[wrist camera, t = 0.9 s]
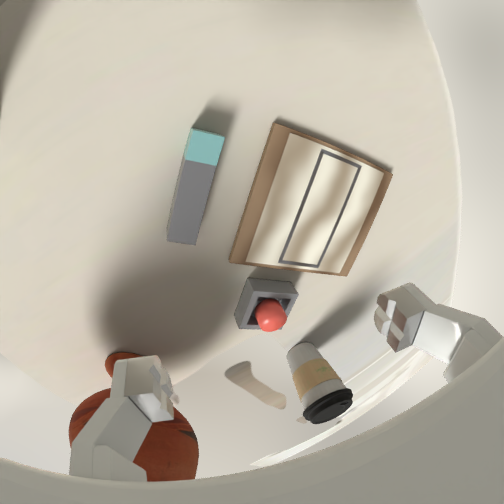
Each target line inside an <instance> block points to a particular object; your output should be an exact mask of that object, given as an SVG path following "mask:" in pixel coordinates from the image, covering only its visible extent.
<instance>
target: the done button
mask: <svg viewBox="0 0 504 504" xmlns="http://www.w3.org/2000/svg"><path fill="white" fill-rule="evenodd" d="M254 314H255V317H256V319H257V321H258V324H259V326H260V328H261V329H262V330H263V331H266V332H271V331H275V330H278V329H279V328H281V327H282V326H283V325H284V324H285V322H286V320H287V315H286V313H285V311H284V310H283V308H282V306H281V304H280V302H279V301H278V300H276V299H266V300H263V301H261V302H260V303H259V304H258V305H257V306H256V307H255V310H254Z"/></svg>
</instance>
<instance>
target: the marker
mask: <svg viewBox="0 0 504 504" xmlns="http://www.w3.org/2000/svg"><path fill="white" fill-rule="evenodd" d="M224 139H225V137H223V136H222V135H220V134H216V133H212V132H208V131H203V130H199V129H195V128H191V129H190V133H189V136H188V140H187V144H186V147H185V151H184V155H183V159H182V163H181V167H180V171H179V175H178V179H177V183H176V187H175V192H174V196H173V201H172V205H171V210H170V215H169V220H168V225H167V241H169V242H176V243H184V244H191V245H196V241H197V237H198V233H199V229H200V225H201V221H202V217H203V213H204V209H205V206H206V202H207V198H208V194H209V191H210V187H211V184H212V180H213V176H214V173H215V169H216V166H217V163H218V159H219V156H220V152H221V149H222V146H223V142H224Z"/></svg>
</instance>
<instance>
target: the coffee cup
mask: <svg viewBox="0 0 504 504" xmlns="http://www.w3.org/2000/svg"><path fill="white" fill-rule="evenodd" d="M287 360H288V363H289V366H290V368H291V372H292V375H293V380H294V383H295V386H296V389H297V392H298V395H299V398H300V400H301V402H302V404H303V407H304V409H305V411H304V412H303V416H304V417H305V419H306V420H308V421H311V422H312V423H313V424H320V423H324V422H327V421H329V420H332V419H334V418H336V417H337V416H339V415H341V414H342V413H344V412H345V411H346V410H347V409H348V408H349V407H350V406H351V405H352V397H353V394H352V391H351V389H348V388H346V387H345V385H344V384H343V383H342V380H341V379H340V378H339V376H338V375H337V374H336V372H335V371H334V370H333V368H332V367H331V366H330V365H329V363H328V362H327V361H326V360H325V359H324V358H323V357H322V355H321V354H320V353H319V352H318V350H317V349H316V348H315V346H314V345H313V344H312V343H309V342H304V343H300V344H298V345H296V346H294V347H293V348H292V349H291V350H290V351H289V352H288V354H287Z"/></svg>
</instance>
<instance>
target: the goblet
mask: <svg viewBox="0 0 504 504" xmlns="http://www.w3.org/2000/svg"><path fill="white" fill-rule="evenodd" d="M137 357H143V356H140V355H137V354H134V353H125V352H121V353H114V354H112V355H110V356H109V357H108V358H107V360H106V362H105V367H106V371H107V372H108V374H109V375H110V376H111V377H112V378H113V371H114V365H115V362H116V361H117V360H122V359H129V358H137ZM110 392H111V388H109V389H105V390H102V391H100V392H97V393H95V394H93V395H92V396H90V397H88V398H87V399H85V400H84V401H83V402H82V403H81V404H80V405H79V406H78V407H77V409H76V410H75V412H74V413H73V415H72V418H71V421H70V426H69V440H70V446H71V447H72V442H73V441H74V439H75V438H76V437H77V435H78V434H79V433H80V431H81V430H82V429H83V428H84V426H85V425H86V424H87V422H88V421H89V420H90V418H91V417H92V416H93V415H94V413H95V412H96V411H97V409H98V408H99V407H100V406H101V404H102V403H103V402H104V401H105V399H106V398H110ZM173 412H174V419H173V420H166V421H159V422H151V423H152V425H151V427H150V429H149V431H148V433H147V435H146V437H145V439H144V441H143V443H142V444H141V446H140V448H139V450H138V452H137V454H136V456H135V458H134V460H133V463H135V464H136V465H138V466H139V467H141V468H143V469H144V470H145V471H146V475H147V482H158V481H179V480H192V479H195V476H196V470H197V465H198V458H199V449H198V442H197V438H196V435H195V433H194V431H193V429H192V427H191V425H190V424H189V422H188V421H187V419H186V418H185V417H184V416H183V415H182V414H181V413H180V412H179V411H178V410H177V409H176V408H175V407H173Z"/></svg>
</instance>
